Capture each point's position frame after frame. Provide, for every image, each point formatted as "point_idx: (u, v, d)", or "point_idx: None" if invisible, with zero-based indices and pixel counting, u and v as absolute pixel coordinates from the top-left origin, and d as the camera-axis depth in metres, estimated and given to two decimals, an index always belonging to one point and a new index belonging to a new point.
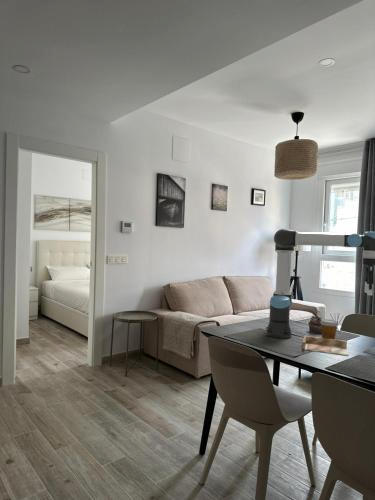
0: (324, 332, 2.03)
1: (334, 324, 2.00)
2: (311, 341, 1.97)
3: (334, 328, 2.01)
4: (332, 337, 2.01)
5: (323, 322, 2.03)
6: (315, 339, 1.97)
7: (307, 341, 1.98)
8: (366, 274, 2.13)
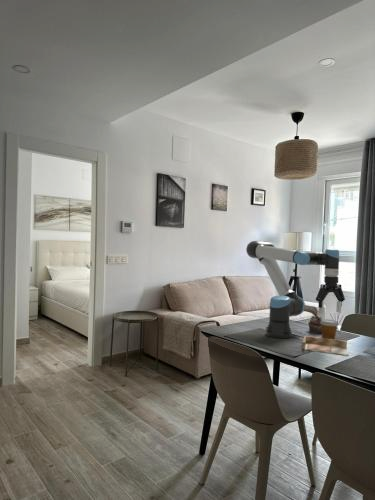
0: (324, 332, 2.03)
1: (334, 324, 2.00)
2: (311, 341, 1.97)
3: (334, 328, 2.01)
4: (332, 337, 2.01)
5: (323, 322, 2.03)
6: (315, 339, 1.97)
7: (307, 341, 1.98)
8: None
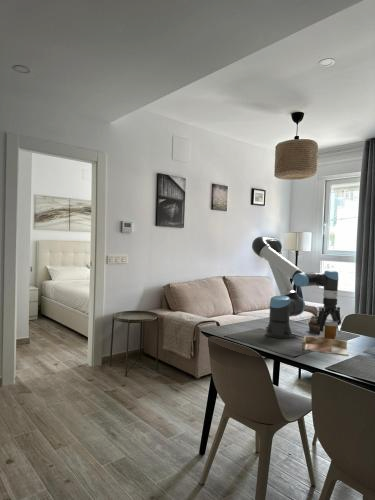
0: None
1: (334, 324, 2.00)
2: (311, 341, 1.97)
3: (334, 328, 2.01)
4: (332, 337, 2.01)
5: None
6: (315, 339, 1.97)
7: (307, 341, 1.98)
8: (331, 315, 2.06)
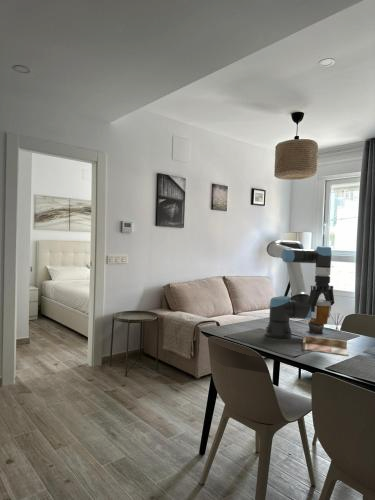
0: None
1: (327, 304, 1.85)
2: (311, 341, 1.97)
3: (327, 308, 1.85)
4: (325, 318, 1.86)
5: None
6: (315, 339, 1.97)
7: (307, 341, 1.98)
8: None
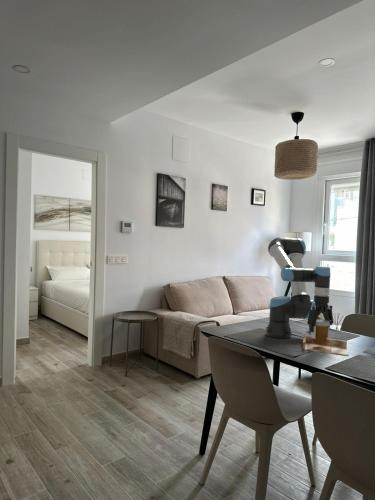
0: None
1: (326, 324, 1.85)
2: (311, 341, 1.97)
3: (326, 328, 1.85)
4: (324, 338, 1.86)
5: None
6: None
7: (307, 341, 1.98)
8: None
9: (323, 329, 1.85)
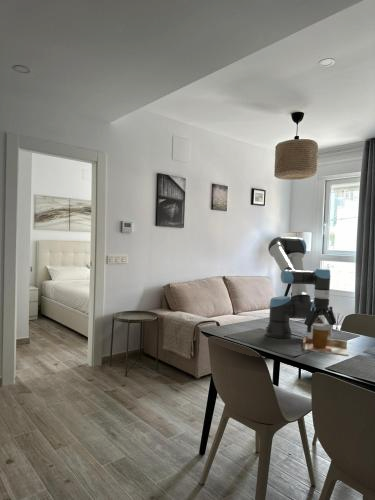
0: (315, 336, 1.87)
1: (326, 328, 1.85)
2: (311, 341, 1.97)
3: (326, 332, 1.86)
4: (323, 342, 1.86)
5: (314, 326, 1.87)
6: None
7: (307, 341, 1.98)
8: (324, 315, 1.92)
9: (323, 333, 1.85)
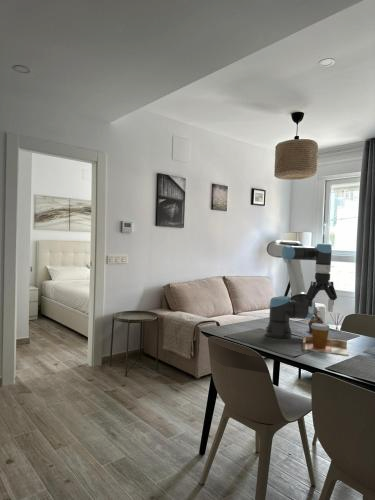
0: (315, 336, 1.87)
1: (325, 328, 1.85)
2: (311, 341, 1.97)
3: (325, 332, 1.86)
4: (323, 342, 1.86)
5: (314, 326, 1.87)
6: None
7: (307, 341, 1.98)
8: (325, 290, 1.92)
9: (323, 333, 1.85)
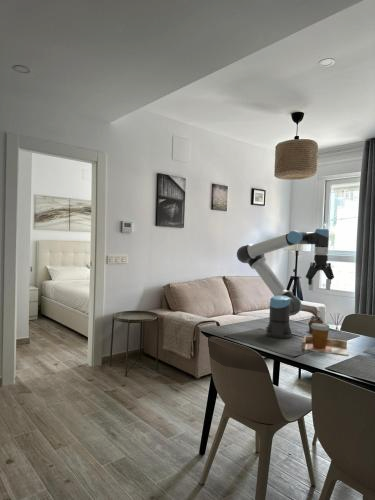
0: (315, 336, 1.87)
1: (325, 328, 1.85)
2: (311, 341, 1.97)
3: (325, 332, 1.85)
4: (323, 342, 1.86)
5: (314, 326, 1.87)
6: None
7: (307, 341, 1.98)
8: (323, 271, 2.14)
9: (323, 333, 1.85)
